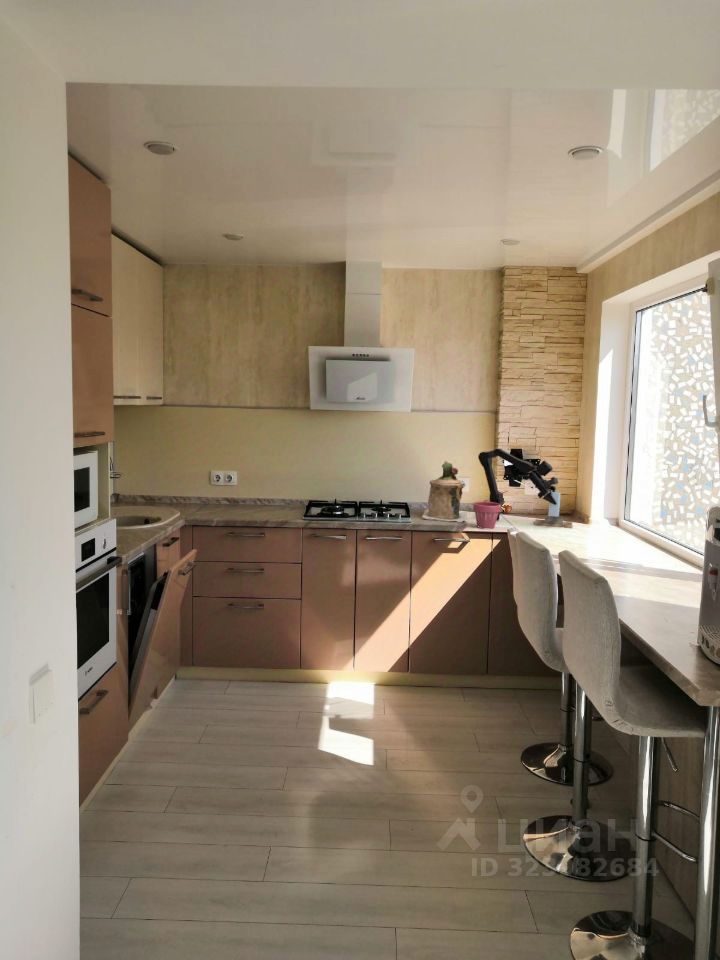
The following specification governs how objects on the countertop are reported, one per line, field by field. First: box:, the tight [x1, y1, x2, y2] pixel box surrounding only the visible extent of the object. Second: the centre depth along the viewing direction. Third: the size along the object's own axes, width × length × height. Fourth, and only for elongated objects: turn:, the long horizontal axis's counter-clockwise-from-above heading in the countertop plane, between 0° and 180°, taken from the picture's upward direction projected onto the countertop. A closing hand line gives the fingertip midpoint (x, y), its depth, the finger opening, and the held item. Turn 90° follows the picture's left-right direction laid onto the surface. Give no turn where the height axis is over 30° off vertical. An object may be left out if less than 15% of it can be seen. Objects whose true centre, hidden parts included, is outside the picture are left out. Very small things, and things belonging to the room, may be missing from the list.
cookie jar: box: [421, 460, 468, 522], centre depth 420 cm, size 25×25×32 cm
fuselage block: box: [547, 491, 562, 517], centre depth 403 cm, size 5×5×12 cm
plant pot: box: [472, 501, 501, 529], centre depth 397 cm, size 14×14×13 cm
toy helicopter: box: [482, 490, 513, 514], centre depth 446 cm, size 8×21×14 cm, turn 122°
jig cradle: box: [534, 514, 573, 529], centre depth 415 cm, size 20×13×4 cm, turn 76°
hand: (557, 503), depth 403 cm, fingers closed on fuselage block, 5 cm apart
